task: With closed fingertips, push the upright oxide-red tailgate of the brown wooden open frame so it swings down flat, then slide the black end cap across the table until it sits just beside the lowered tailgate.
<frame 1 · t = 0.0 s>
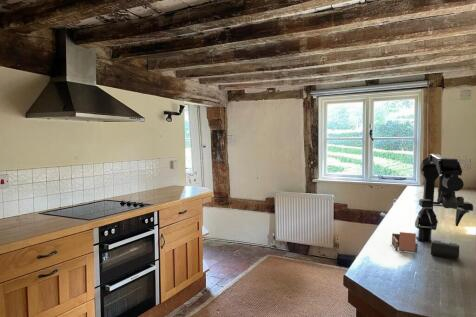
hand: (444, 224, 139), 15 cm above the worktop, fingers open, 9 cm apart
brown wooden open frame: (404, 248, 153), on the worktop
end cap: (444, 258, 141), on the worktop
tailgate: (407, 242, 147), point 4 cm above the worktop, hinge at 0.0°
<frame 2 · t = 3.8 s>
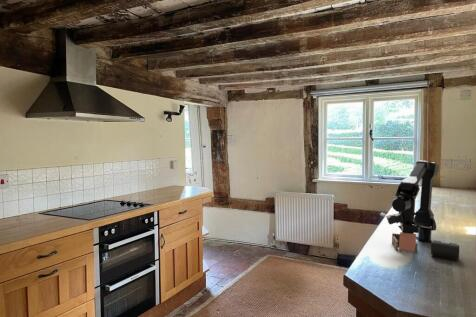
hand: (405, 243, 150), 3 cm above the worktop, fingers closed
tailgate: (407, 242, 147), point 4 cm above the worktop, hinge at 4.7°, touching gripper
everything else where it was.
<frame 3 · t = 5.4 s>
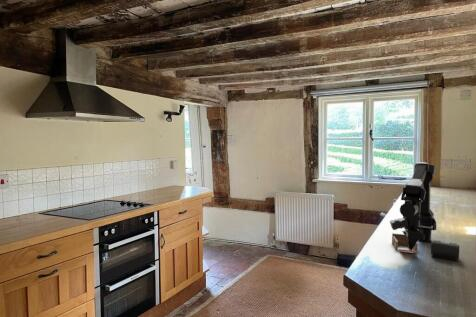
hand: (410, 249, 141), 3 cm above the worktop, fingers closed
tailgate: (408, 251, 144), point 2 cm above the worktop, hinge at 73.6°
everything else where it was.
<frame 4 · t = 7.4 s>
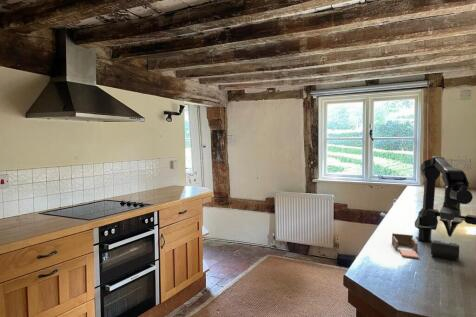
hand: (449, 236, 139), 10 cm above the worktop, fingers closed
tailgate: (408, 253, 144), point 1 cm above the worktop, hinge at 90.3°
everything else where it was.
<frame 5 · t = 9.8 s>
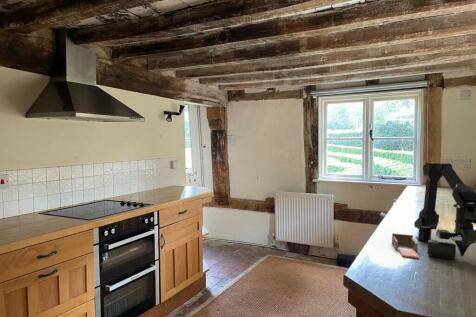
hand: (461, 256, 140), 2 cm above the worktop, fingers closed
end cap: (440, 257, 142), on the worktop, touching gripper
everything else where it was.
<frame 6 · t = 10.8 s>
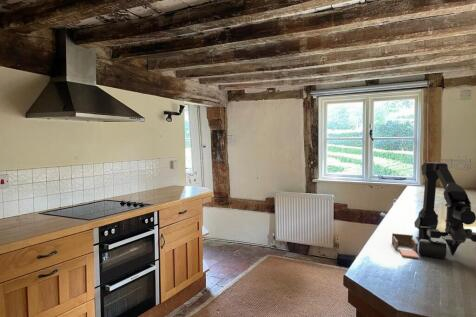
hand: (452, 255, 140), 2 cm above the worktop, fingers closed
end cap: (431, 257, 143), on the worktop, touching gripper
everything else where it was.
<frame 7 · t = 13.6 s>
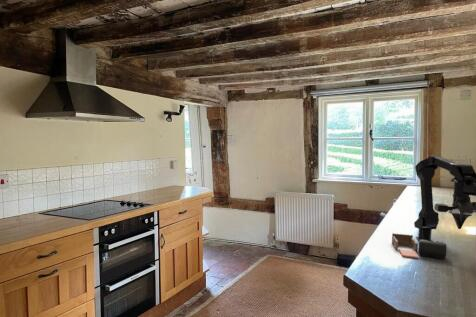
hand: (459, 228, 144), 12 cm above the worktop, fingers closed
end cap: (431, 257, 143), on the worktop
everything else where it was.
at the end: tailgate at +90° (first picture: +0°); end cap inside the target area (2.1 cm from its centre), on the worktop; end cap tilted 0° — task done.
